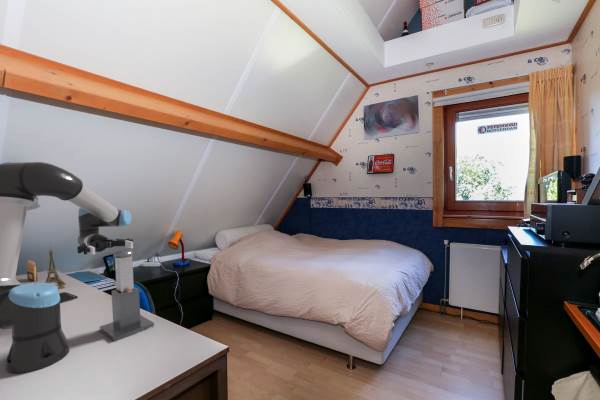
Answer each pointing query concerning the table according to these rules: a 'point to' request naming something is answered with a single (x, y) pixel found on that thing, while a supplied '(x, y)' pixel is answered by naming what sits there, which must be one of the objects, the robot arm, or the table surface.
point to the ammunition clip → (31, 271)
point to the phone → (66, 297)
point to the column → (124, 270)
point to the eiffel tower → (56, 278)
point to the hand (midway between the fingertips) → (113, 248)
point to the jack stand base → (125, 316)
